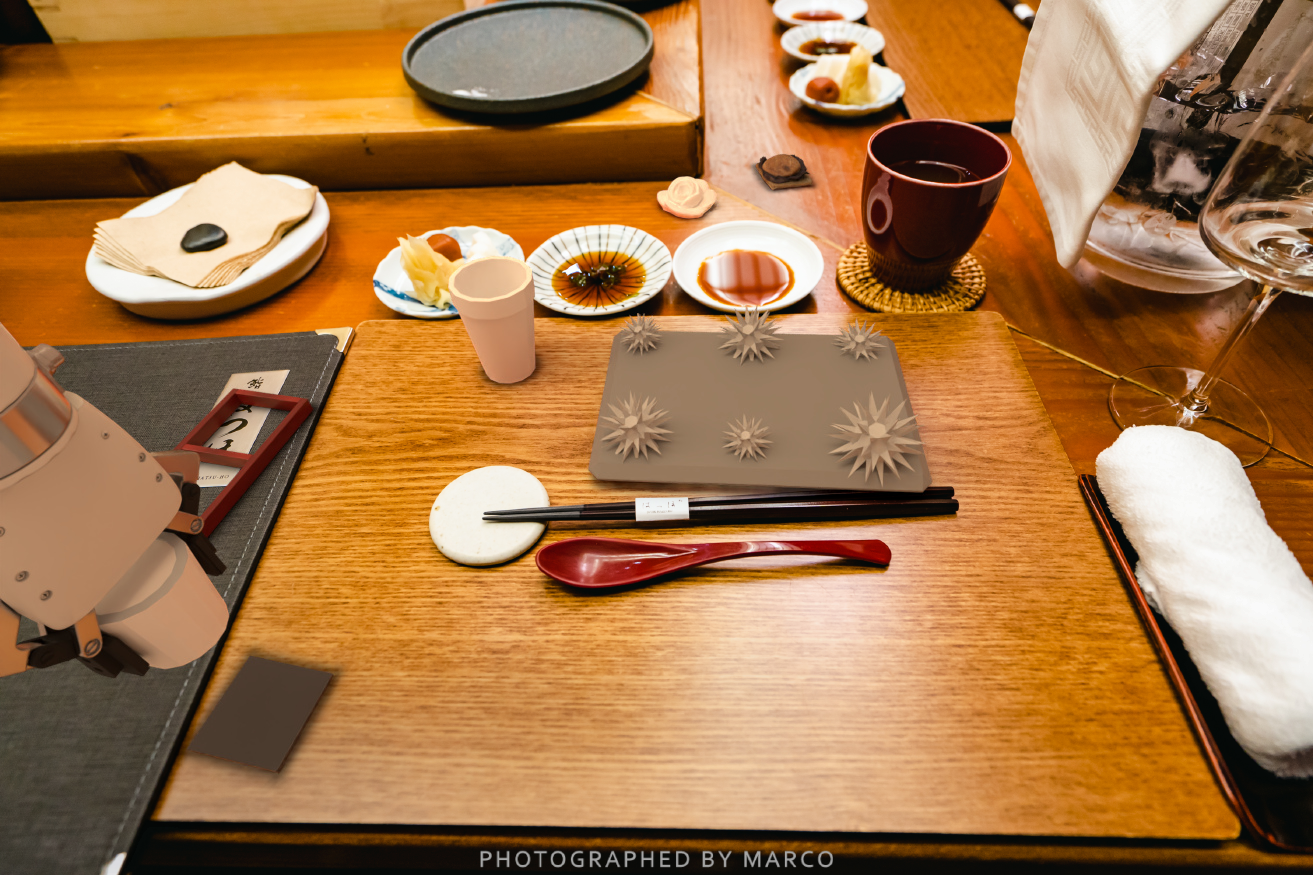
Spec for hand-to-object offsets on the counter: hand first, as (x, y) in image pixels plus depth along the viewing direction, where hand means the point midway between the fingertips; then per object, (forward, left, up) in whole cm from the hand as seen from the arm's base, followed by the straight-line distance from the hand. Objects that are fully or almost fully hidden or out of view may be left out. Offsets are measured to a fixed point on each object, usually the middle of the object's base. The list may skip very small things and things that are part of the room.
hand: (168, 614), depth 45 cm
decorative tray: (+42, -35, -15) cm, 57 cm away
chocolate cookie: (+105, -33, -15) cm, 111 cm away
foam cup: (+45, -4, -15) cm, 48 cm away
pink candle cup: (0, 0, -2) cm, 2 cm away
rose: (+91, -18, -15) cm, 94 cm away
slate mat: (0, 0, -15) cm, 15 cm away
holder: (+23, +21, -15) cm, 35 cm away
